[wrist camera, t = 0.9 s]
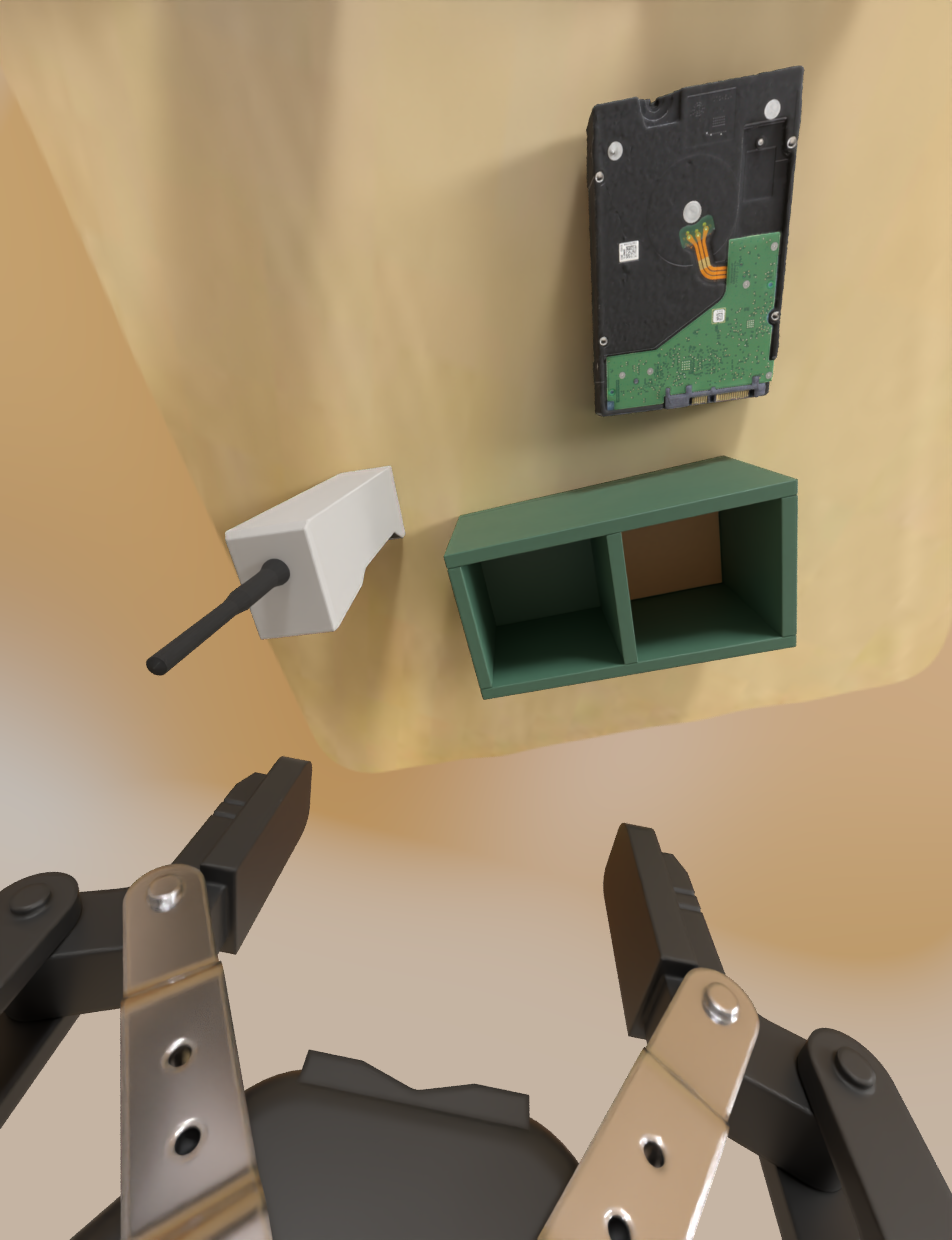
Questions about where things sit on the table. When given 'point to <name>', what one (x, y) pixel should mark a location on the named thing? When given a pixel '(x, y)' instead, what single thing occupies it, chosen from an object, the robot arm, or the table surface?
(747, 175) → the disk drive
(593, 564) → the caddy
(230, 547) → the vintage mobile phone
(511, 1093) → the robot arm
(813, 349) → the table surface
